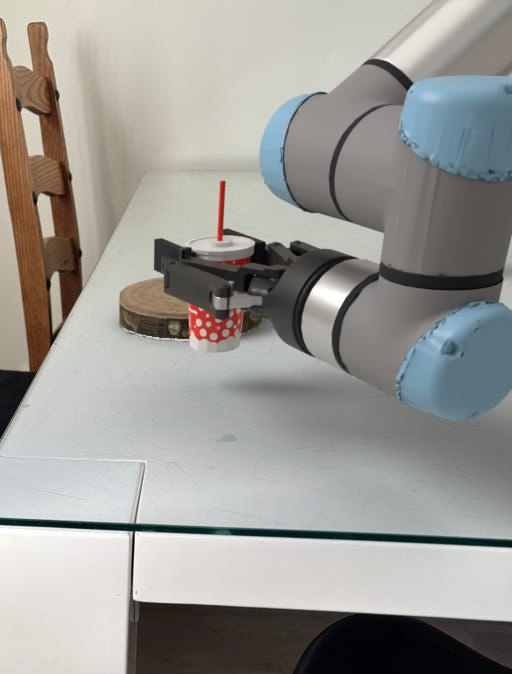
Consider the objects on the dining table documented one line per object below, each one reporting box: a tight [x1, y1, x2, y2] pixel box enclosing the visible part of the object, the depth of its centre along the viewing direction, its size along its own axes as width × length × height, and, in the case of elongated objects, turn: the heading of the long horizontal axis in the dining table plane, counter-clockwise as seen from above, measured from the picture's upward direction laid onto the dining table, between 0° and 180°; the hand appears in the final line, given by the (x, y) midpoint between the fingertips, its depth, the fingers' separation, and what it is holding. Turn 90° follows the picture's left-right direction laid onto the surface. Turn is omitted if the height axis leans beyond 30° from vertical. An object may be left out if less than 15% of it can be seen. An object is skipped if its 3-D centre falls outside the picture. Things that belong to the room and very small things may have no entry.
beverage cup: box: [183, 180, 255, 354], centre depth 89 cm, size 6×6×14 cm
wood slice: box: [118, 276, 263, 339], centre depth 112 cm, size 16×16×3 cm
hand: (191, 249), depth 92 cm, fingers closed on beverage cup, 6 cm apart
